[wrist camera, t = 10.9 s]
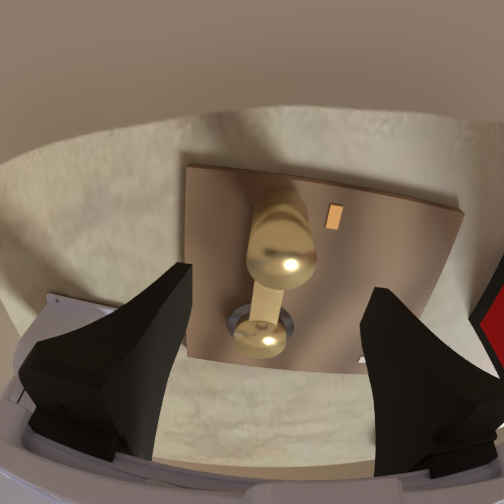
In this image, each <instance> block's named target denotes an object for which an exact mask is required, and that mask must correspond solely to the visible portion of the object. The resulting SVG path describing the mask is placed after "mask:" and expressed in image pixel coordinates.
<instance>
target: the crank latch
mask: <svg viewBox="0 0 504 504" xmlns="http://www.w3.org/2000/svg"><path fill="white" fill-rule="evenodd" d="M246 264H247V268H248V271H249V273H250V275H251V276H252V277H253V279H254V287H253V295H252V302H251V309H250V313H248V314H245V315H243V316H242V317H241V318H239V320H238V321H237V322H236V325H235V330H234V336H233V343H234V346H235V347H236V349H237V350H238V351H239V352H240V353H242V354H244V355H246V356H248V357H251V358H256V359H266V358H271V357H274V356H276V355H278V354H279V353H281V352H282V351H283V350H284V348H285V346H286V326H285V324H284V322H283V321H282V320H281V319H280V318H279V313H280V308H281V303H282V298H283V294H284V290H289V289H293V288H296V287H298V286H300V285H302V284H304V283H305V282H306V281H307V280H309V278H310V277H311V276H312V275H313V273H314V271H315V269H316V265H317V254H316V249H315V244H314V239H313V234H312V230H311V225H310V220H309V216H308V211H307V207H306V205H305V203H304V201H303V200H302V199H301V197H300V196H298V195H297V194H296V193H294V192H292V191H289V190H283V189H277V190H272V191H270V192H267V193H266V194H264V195H263V196H262V197H261V198H260V199H259V200H258V201H257V203H256V205H255V208H254V213H253V219H252V225H251V231H250V237H249V243H248V250H247V256H246Z"/></svg>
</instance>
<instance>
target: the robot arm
mask: <svg viewBox="0 0 504 504" xmlns="http://www.w3.org/2000/svg"><path fill="white" fill-rule="evenodd" d="M46 299H47V302H48V303H47V304H46V306H45V307H44V308H43V309H42V311H41V312H40V313H39V315H38V316H37V317H36V319H35V320H34V321H33V323H32V324H31V325H30V327H29V328H28V329H27V331H26V332H25V334H24V335H23V336H22V338H21V339H20V341H19V343H18V345H17V347H16V350H15V354H14V359H13V369H14V375H13V376H12V377H11V378H10V379H9V381H8V382H7V383H6V385H5V386H4V388H3V389H2V391H1V393H0V504H504V443H501V444H499V445H498V446H496V447H495V445H494V442H493V441H494V440H496V439H497V434H496V431H495V430H496V429H497V428H498V427H500V426H501V425H502V424H503V423H504V381H503V380H501V379H499V378H497V377H495V376H493V375H491V374H489V373H487V372H485V371H483V370H482V369H480V368H478V367H477V366H475V365H473V364H472V363H470V362H469V361H467V360H466V359H464V358H463V357H462V356H460V355H459V354H457V353H456V352H455V351H453V350H452V349H451V348H450V347H449V346H447V345H446V344H445V343H444V342H442V341H441V340H440V339H439V338H438V337H437V336H436V335H435V334H433V333H432V332H431V331H430V330H429V329H428V328H427V327H426V326H425V325H424V324H423V323H422V322H421V321H420V320H419V319H418V318H417V317H416V316H415V315H414V314H413V313H412V312H411V311H410V310H409V309H408V308H407V306H406V305H405V304H404V303H403V302H402V301H401V300H400V299H399V298H398V297H397V296H396V295H395V294H394V293H393V292H392V291H391V290H389V289H388V288H382V287H374V289H373V292H372V294H371V297H370V300H369V302H368V305H367V307H366V310H365V312H364V314H363V317H362V319H361V322H360V324H359V326H360V337H361V345H362V350H363V354H364V358H365V363H366V367H367V371H368V375H369V379H370V384H371V388H372V394H373V400H374V411H375V430H376V453H375V470H374V477H370V478H359V479H342V480H278V479H262V478H249V477H239V476H230V475H221V474H215V473H208V472H202V471H196V470H190V469H185V468H180V467H175V466H170V465H166V464H161V463H157V462H152V454H153V448H154V441H155V436H156V430H157V425H158V420H159V415H160V411H161V406H162V401H163V397H164V393H165V389H166V385H167V381H168V377H169V374H170V371H171V368H172V366H173V363H174V360H175V358H176V355H177V352H178V350H179V347H180V345H181V342H182V339H183V337H184V334H185V332H186V329H187V326H188V322H189V318H190V314H191V310H192V306H193V264H187V263H180V262H177V263H176V264H174V265H173V266H172V267H171V268H170V269H169V270H167V271H166V272H165V273H164V274H163V275H162V276H161V277H159V278H158V279H157V280H156V281H155V282H154V283H152V284H151V285H150V286H149V287H147V288H146V289H145V290H144V291H143V292H141V293H140V294H139V295H137V296H136V297H134V298H133V299H132V300H130V301H129V302H128V303H126V304H125V305H123V306H122V307H120V308H114V307H109V306H104V305H99V304H95V303H90V302H86V301H81V300H77V299H73V298H69V297H64V296H60V295H56V294H52V293H48V294H47V295H46Z"/></svg>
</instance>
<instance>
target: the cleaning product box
mask: <svg viewBox="0 0 504 504" xmlns="http://www.w3.org/2000/svg"><path fill="white" fill-rule="evenodd" d="M468 320H469V321H470V323H471V325H472V327H473V328H474V330H475V332H476V334H477V335H478V337H479V339H480V341H481V343H482V344H483V346H484V348H485V350H486V352H487V354H488V356H489V358H490V360H491V362H492V364H493V366H494V368H495V370H496V372H497V374H498V376H499V378H500V379H501V380H503V381H504V255H503V257H502V259H501V261H500V263H499V265H498V267H497V269H496V271H495V273H494V275H493V277H492V279H491V281H490V283H489V285H488V286H487V288H486V290H485V292H484V294H483V295H482V297H481V299H480V301H479V302H478V304H477V306H476V307H475V309H474V311H473V312H472V314H471V316H470V317H469V319H468Z"/></svg>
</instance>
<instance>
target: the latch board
mask: <svg viewBox="0 0 504 504" xmlns="http://www.w3.org/2000/svg"><path fill="white" fill-rule="evenodd" d="M277 189H283V190H289V191H292V192H294V193H296V194H297V195H298V196H300V197H301V199H302V200H303V201H304V203H305V205H306V207H307V211H308V216H309V220H310V225H311V230H312V234H313V239H314V244H315V249H316V254H317V265H316V269H315V271H314V273H313V275H312V276H311V277H310V278H309V280H307V281H306V282H305V283H304V284H302V285H300V286H298V287H296V288H293V289H289V290H284V294H283V298H282V303H281V308H280V313H279V318H280V319H281V320H282V321H283V322H284V324H285V326H286V346H285V348H284V350H283V351H282V352H281V353H279V354H278V355H276V356H274V357H271V358H266V359H256V358H251V357H248V356H246V355H244V354H242V353H240V352H239V351H238V350H237V349H236V347H235V346H234V343H233V336H234V330H235V325H236V322H237V321H238V320H239V318H241V317H242V316H243V315H245V314H248V313H250V309H251V302H252V295H253V287H254V279H253V277H252V276H251V275H250V273H249V271H248V268H247V264H246V256H247V250H248V243H249V237H250V231H251V225H252V219H253V213H254V208H255V205H256V203H257V201H258V200H259V199H260V198H261V197H262V196H263V195H264V194H266V193H267V192H270V191H272V190H277ZM463 217H464V213H463V212H462V211H461V210H460V209H457V208H453V207H449V206H445V205H441V204H437V203H433V202H429V201H425V200H420V199H416V198H411V197H407V196H402V195H398V194H393V193H388V192H383V191H378V190H373V189H368V188H363V187H358V186H352V185H347V184H341V183H335V182H329V181H323V180H317V179H311V178H305V177H298V176H291V175H284V174H277V173H270V172H262V171H254V170H246V169H237V168H228V167H219V166H209V165H198V164H189V165H188V166H187V167H186V190H185V263H187V264H193V306H192V310H191V314H190V318H189V322H188V326H187V329H186V343H187V357H192V358H198V359H204V360H210V361H217V362H224V363H231V364H239V365H247V366H255V367H264V368H273V369H284V370H295V371H308V372H323V373H341V374H368V371H367V367H366V363H365V358H364V354H363V350H362V345H361V337H360V326H359V324H360V322H361V319H362V317H363V314H364V312H365V310H366V307H367V305H368V302H369V300H370V297H371V294H372V292H373V289H374V287H382V288H388V289H389V290H391V291H392V292H393V293H394V294H395V295H396V296H397V297H398V298H399V299H400V300H401V301H402V302H403V303H404V304H405V305H406V306H407V308H408V309H409V310H410V311H411V312H412V313H413V314H414V315H415V316H416V317H417V318H418V319H419V318H420V316H421V314H422V312H423V310H424V308H425V306H426V304H427V302H428V300H429V298H430V296H431V294H432V292H433V290H434V288H435V286H436V283H437V281H438V279H439V277H440V275H441V272H442V270H443V268H444V265H445V263H446V261H447V258H448V256H449V254H450V251H451V249H452V246H453V244H454V241H455V239H456V236H457V233H458V231H459V228H460V225H461V223H462V220H463Z"/></svg>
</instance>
